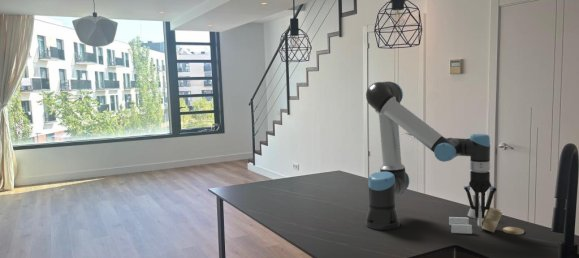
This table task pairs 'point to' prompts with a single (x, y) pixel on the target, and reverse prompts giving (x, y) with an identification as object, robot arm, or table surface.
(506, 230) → the coaster
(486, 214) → the block
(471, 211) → the flask
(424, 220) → the table surface
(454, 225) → the channel
